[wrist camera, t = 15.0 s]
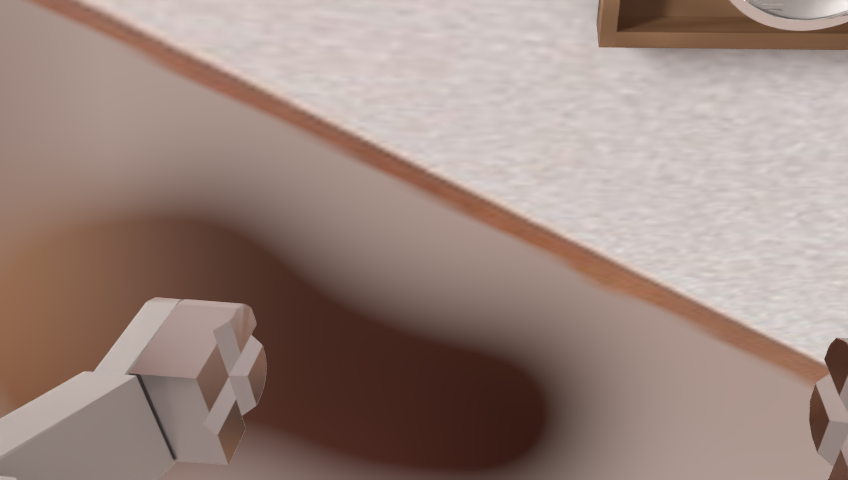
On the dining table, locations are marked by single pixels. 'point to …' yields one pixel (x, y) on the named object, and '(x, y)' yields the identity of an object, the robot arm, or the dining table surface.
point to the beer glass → (795, 13)
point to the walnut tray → (701, 27)
